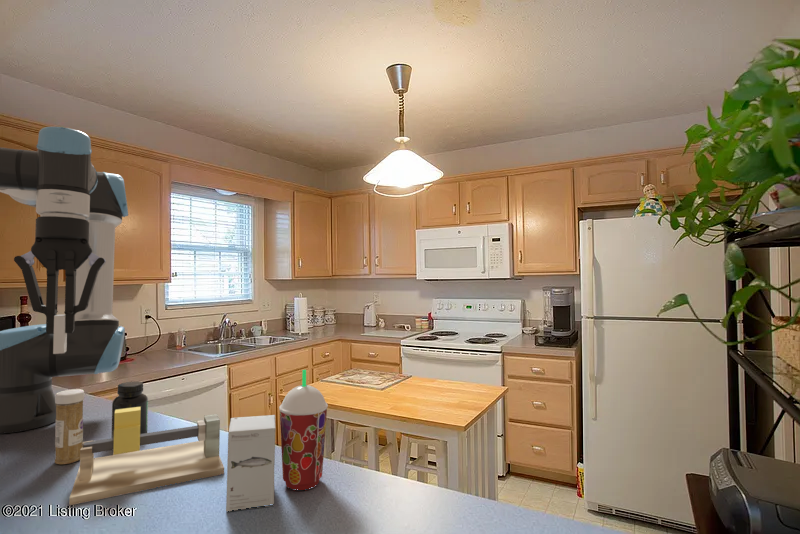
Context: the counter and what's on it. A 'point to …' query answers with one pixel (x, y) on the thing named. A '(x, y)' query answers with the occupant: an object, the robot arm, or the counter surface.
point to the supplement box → (250, 462)
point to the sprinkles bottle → (68, 425)
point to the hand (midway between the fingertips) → (59, 352)
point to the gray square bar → (146, 438)
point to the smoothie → (303, 435)
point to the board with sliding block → (149, 466)
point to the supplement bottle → (131, 402)
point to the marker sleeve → (127, 430)
